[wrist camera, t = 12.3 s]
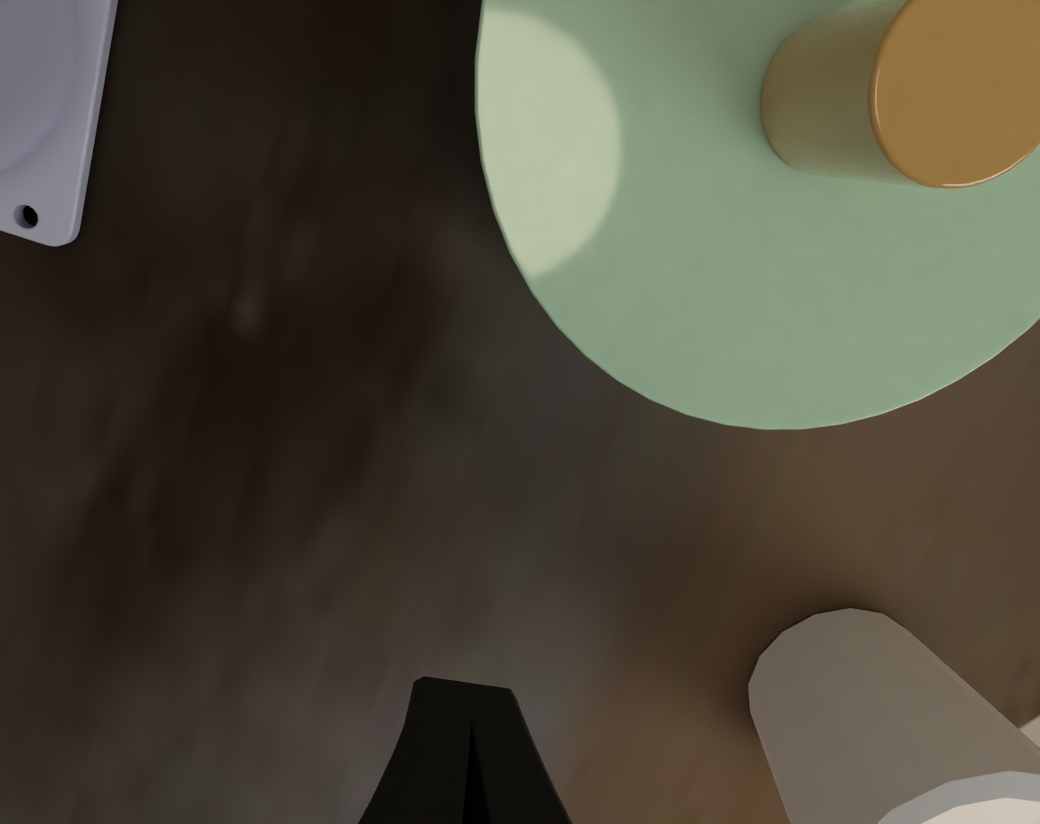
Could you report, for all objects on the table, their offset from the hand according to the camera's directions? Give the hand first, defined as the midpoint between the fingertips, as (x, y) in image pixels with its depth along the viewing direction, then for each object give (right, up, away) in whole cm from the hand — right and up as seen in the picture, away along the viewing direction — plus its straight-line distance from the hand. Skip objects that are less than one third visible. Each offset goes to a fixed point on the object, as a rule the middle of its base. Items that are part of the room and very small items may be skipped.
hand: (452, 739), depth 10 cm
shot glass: (+11, -4, +14) cm, 18 cm away
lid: (+6, +10, +2) cm, 11 cm away
